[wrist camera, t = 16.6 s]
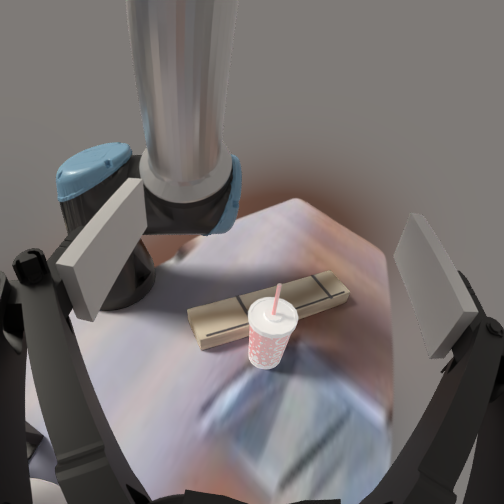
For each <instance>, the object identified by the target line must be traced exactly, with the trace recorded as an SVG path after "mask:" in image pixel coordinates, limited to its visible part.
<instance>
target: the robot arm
mask: <svg viewBox="0 0 504 504" xmlns="http://www.w3.org/2000/svg"><path fill="white" fill-rule="evenodd" d="M238 4H239V0H126V8H127V20H128V28H129V38H130V46H131V54H132V60H133V68H134V75H135V82H136V88H137V94H138V101H139V106H140V112H141V118H142V123H143V129H144V134H145V139H146V145H147V147H146V149H145V150H144V152H143V154H142V155H132V150H131V149H130V146H129V145H128V144H126V143H120V142H115V143H107V144H102V145H98V146H95V147H92V148H89V149H86V150H84V151H82V152H80V153H78V154H76V155H74V156H72V157H71V158H69V159H68V160H67V161H66V162H64V163H63V164H62V165H61V166H60V168H59V169H58V172H57V175H56V183H57V192H58V201H59V202H60V206H61V210H62V214H63V218H64V222H65V226H66V229H67V233H68V236H67V237H66V238H65V240H64V241H63V242H62V243H61V245H60V246H59V247H58V248H57V249H56V250H55V252H54V253H53V254H52V256H51V257H50V258H49V259H48V261H46V258H45V255H44V253H43V251H42V250H40V249H35V248H32V249H28V250H26V251H24V252H22V253H20V254H19V255H18V256H17V257H16V258H15V260H14V261H13V265H12V266H13V269H14V271H15V273H16V275H17V278H18V280H11V281H8V279H7V277H6V275H5V273H4V272H2V271H0V504H33V499H32V490H31V483H30V475H29V467H28V457H27V445H26V428H25V377H26V359H27V348H28V354H29V359H30V364H31V369H32V374H33V379H34V383H35V388H36V392H37V396H38V400H39V404H40V407H41V411H42V415H43V418H44V421H45V425H46V428H47V431H48V434H49V437H50V440H51V443H52V446H53V449H54V452H55V455H56V458H57V463H58V464H57V466H56V467H55V474H56V477H57V480H58V483H59V486H60V488H61V490H62V493H63V495H64V497H65V499H66V502H67V504H247V503H244V502H241V501H238V500H235V499H232V498H229V497H227V496H223V495H216V494H209V493H203V492H197V491H191V490H185V494H177V495H171V496H166V497H162V498H159V499H156V500H154V501H152V500H151V498H150V497H149V495H148V494H147V492H146V490H145V489H144V487H143V486H142V484H141V483H140V481H139V480H138V478H137V477H136V476H135V474H134V473H133V471H132V470H131V468H130V466H129V464H128V462H127V460H126V458H125V457H124V455H123V453H122V451H121V449H120V447H119V445H118V443H117V441H116V439H115V436H114V434H113V432H112V430H111V428H110V426H109V424H108V421H107V419H106V417H105V415H104V412H103V410H102V408H101V405H100V403H99V400H98V398H97V396H96V393H95V391H94V388H93V385H92V383H91V380H90V378H89V375H88V372H87V369H86V367H85V364H84V361H83V358H82V355H81V352H80V349H79V346H78V343H77V340H76V336H75V333H74V330H73V326H72V323H71V320H70V318H69V314H70V312H71V310H72V308H73V310H74V312H75V315H76V317H77V318H78V319H82V320H86V321H91V322H93V321H94V320H95V318H96V316H97V314H98V312H99V310H115V309H120V308H124V307H127V306H130V305H132V304H134V303H136V302H137V301H139V300H140V299H142V298H143V297H144V296H145V295H146V294H147V293H148V292H149V291H150V289H151V288H152V286H153V284H154V281H155V269H154V263H153V260H152V258H151V256H150V254H149V252H148V251H147V249H146V247H145V245H144V243H143V242H142V240H141V236H142V235H175V234H176V235H177V234H178V235H183V234H184V235H186V234H191V235H193V234H196V235H199V234H200V235H203V236H208V235H211V234H223V233H226V232H227V231H229V230H230V229H231V228H232V226H233V224H234V222H235V220H236V217H237V213H238V208H239V203H238V202H239V200H240V196H241V184H242V183H241V182H242V174H241V165H240V161H239V159H238V158H237V157H236V156H235V155H232V154H230V151H229V149H228V147H227V146H226V144H225V143H224V142H223V141H222V135H223V126H224V116H225V107H226V98H227V89H228V80H229V72H230V63H231V55H232V47H233V40H234V39H233V38H234V32H235V24H236V18H237V10H238ZM393 257H394V259H395V262H396V264H397V267H398V269H399V272H400V274H401V277H402V279H403V282H404V284H405V287H406V290H407V293H408V295H409V298H410V301H411V303H412V306H413V309H414V312H415V315H416V318H417V321H418V323H419V327H420V330H421V333H422V336H423V339H424V342H425V345H426V348H427V352H428V355H429V358H430V359H432V358H444V357H445V356H446V355H447V354H448V353H449V351H450V350H451V349H452V352H453V355H454V357H453V358H452V359H451V360H450V361H449V363H448V364H447V365H446V366H445V367H444V368H443V369H442V371H441V373H443V372H444V371H445V372H444V375H443V377H442V379H441V381H440V383H439V385H438V387H437V389H436V391H435V393H434V395H433V397H432V399H431V401H430V403H429V405H428V407H427V408H426V410H425V412H424V414H423V416H422V418H421V420H420V421H419V423H418V425H417V427H416V428H415V430H414V431H413V433H412V435H411V437H410V438H409V440H408V441H407V443H406V445H405V446H404V448H403V449H402V451H401V452H400V454H399V456H398V457H397V459H396V460H395V462H394V463H393V464H392V466H391V467H390V469H389V470H388V472H387V473H386V475H385V476H384V477H383V479H382V480H381V481H380V483H379V484H378V486H377V487H376V488H375V489H374V490H373V491H372V492H371V493H370V494H369V495H368V496H367V497H366V498H364V499H363V500H362V501H361V502H360V503H359V504H455V503H456V498H457V496H456V495H455V494H454V493H453V489H454V486H455V484H456V482H457V480H458V478H459V476H460V474H461V472H462V470H463V467H464V465H465V463H466V461H467V459H468V456H469V454H470V451H471V449H472V447H473V444H474V442H475V439H476V437H477V434H478V437H477V444H476V449H475V454H474V460H473V464H472V469H471V474H470V478H469V482H468V486H467V490H466V493H465V497H464V501H463V504H504V329H503V327H502V326H501V325H500V323H499V322H497V321H496V320H495V319H493V318H491V317H487V316H486V314H485V312H484V310H483V309H482V306H481V304H480V302H479V300H478V298H477V296H476V295H475V293H474V291H473V289H471V288H472V287H471V285H470V283H469V281H468V280H467V278H466V277H465V276H464V275H463V274H462V273H461V272H460V271H457V270H456V268H455V266H454V265H453V263H452V261H451V259H450V258H449V256H448V254H447V252H446V251H445V249H444V247H443V246H442V244H441V242H440V241H439V239H438V238H437V236H436V234H435V233H434V231H433V230H432V228H431V226H430V225H429V223H428V222H427V220H426V219H425V217H424V216H423V215H421V214H416V213H410V215H409V218H408V220H407V223H406V226H405V228H404V231H403V233H402V236H401V238H400V241H399V244H398V246H397V249H396V251H395V253H394V256H393ZM291 504H341V499H333V500H304V501H300V502H295V503H291Z"/></svg>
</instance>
